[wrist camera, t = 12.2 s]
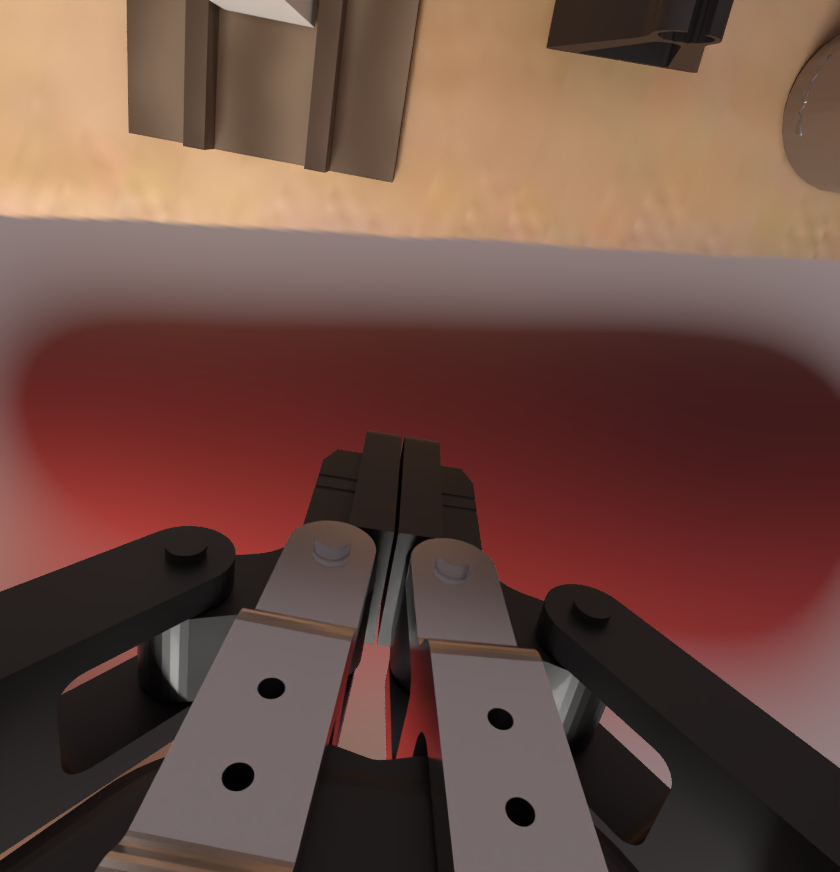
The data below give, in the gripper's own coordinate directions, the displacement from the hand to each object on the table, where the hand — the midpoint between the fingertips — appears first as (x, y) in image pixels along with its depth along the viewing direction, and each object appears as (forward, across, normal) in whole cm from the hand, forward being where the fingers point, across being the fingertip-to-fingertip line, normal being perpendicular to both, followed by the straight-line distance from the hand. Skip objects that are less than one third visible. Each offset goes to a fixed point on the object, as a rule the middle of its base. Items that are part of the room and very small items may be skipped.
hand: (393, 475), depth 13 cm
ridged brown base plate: (+32, +10, -10) cm, 35 cm away
